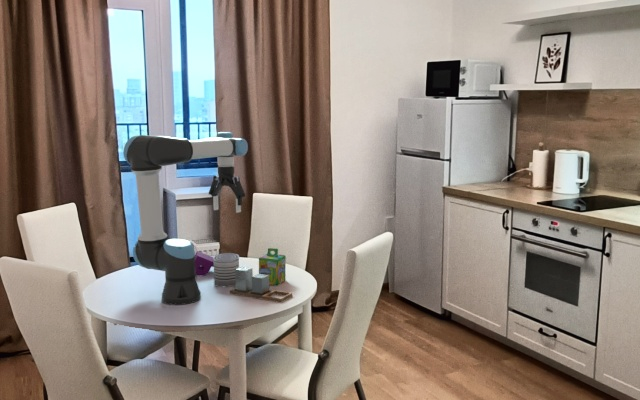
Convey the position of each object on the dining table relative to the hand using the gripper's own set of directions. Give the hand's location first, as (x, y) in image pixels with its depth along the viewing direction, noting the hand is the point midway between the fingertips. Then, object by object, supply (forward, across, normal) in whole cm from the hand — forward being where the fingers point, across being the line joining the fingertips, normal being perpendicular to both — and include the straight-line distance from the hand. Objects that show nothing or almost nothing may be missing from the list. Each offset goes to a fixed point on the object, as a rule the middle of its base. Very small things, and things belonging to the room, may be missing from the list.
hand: (227, 211), depth 287 cm
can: (+28, -16, +20) cm, 38 cm away
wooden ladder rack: (+27, -39, +26) cm, 54 cm away
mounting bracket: (+28, +1, +10) cm, 29 cm away
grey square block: (+27, -31, +27) cm, 49 cm away
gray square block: (+27, -39, +26) cm, 54 cm away
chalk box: (+27, -32, +9) cm, 43 cm away
